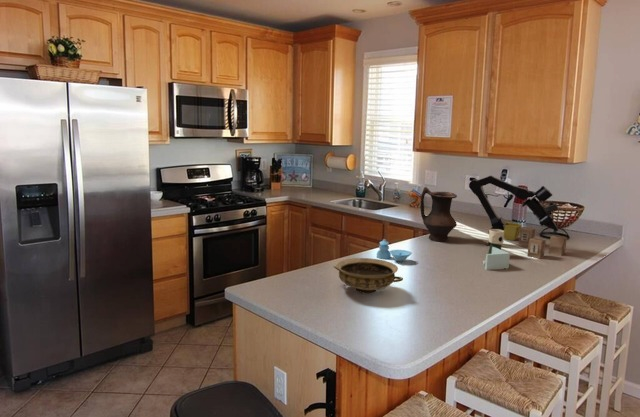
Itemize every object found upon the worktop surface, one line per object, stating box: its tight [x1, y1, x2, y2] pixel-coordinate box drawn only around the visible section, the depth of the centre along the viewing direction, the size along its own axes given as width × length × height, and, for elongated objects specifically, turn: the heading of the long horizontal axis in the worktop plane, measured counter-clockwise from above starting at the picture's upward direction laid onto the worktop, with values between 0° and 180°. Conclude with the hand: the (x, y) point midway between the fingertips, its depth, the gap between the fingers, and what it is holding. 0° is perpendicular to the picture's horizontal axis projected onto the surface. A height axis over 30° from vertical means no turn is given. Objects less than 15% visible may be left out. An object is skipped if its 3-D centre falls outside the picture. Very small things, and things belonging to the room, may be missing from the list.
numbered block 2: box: [527, 237, 547, 260], centre depth 247 cm, size 6×6×9 cm
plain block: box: [548, 234, 568, 257], centre depth 255 cm, size 6×6×9 cm
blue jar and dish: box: [376, 238, 412, 263], centre depth 234 cm, size 18×10×9 cm, turn 49°
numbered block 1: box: [518, 227, 536, 247], centre depth 273 cm, size 6×6×9 cm
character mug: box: [487, 228, 505, 254], centre depth 247 cm, size 11×7×13 cm, turn 140°
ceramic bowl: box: [333, 257, 404, 295], centre depth 190 cm, size 30×24×10 cm
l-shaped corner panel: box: [482, 247, 511, 271], centre depth 229 cm, size 12×12×8 cm
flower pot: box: [504, 221, 522, 241], centre depth 284 cm, size 9×9×9 cm
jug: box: [419, 186, 458, 243], centre depth 277 cm, size 21×18×30 cm
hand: (557, 230), depth 254 cm, fingers closed
